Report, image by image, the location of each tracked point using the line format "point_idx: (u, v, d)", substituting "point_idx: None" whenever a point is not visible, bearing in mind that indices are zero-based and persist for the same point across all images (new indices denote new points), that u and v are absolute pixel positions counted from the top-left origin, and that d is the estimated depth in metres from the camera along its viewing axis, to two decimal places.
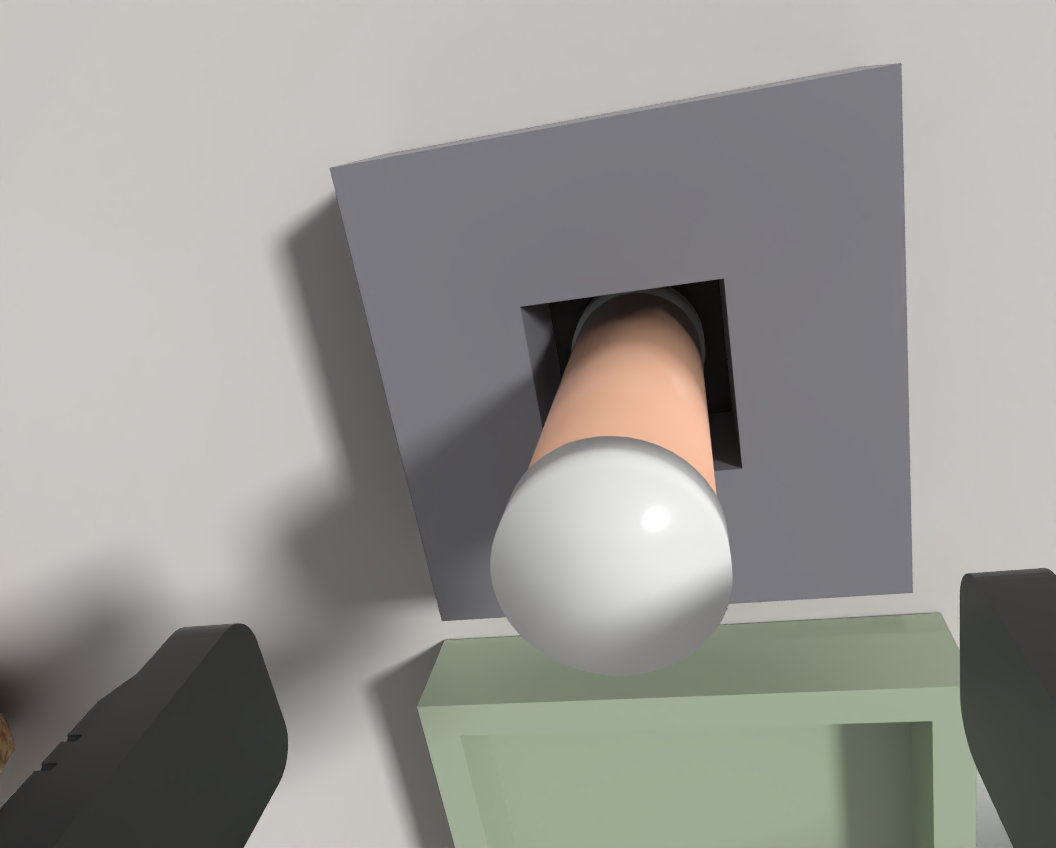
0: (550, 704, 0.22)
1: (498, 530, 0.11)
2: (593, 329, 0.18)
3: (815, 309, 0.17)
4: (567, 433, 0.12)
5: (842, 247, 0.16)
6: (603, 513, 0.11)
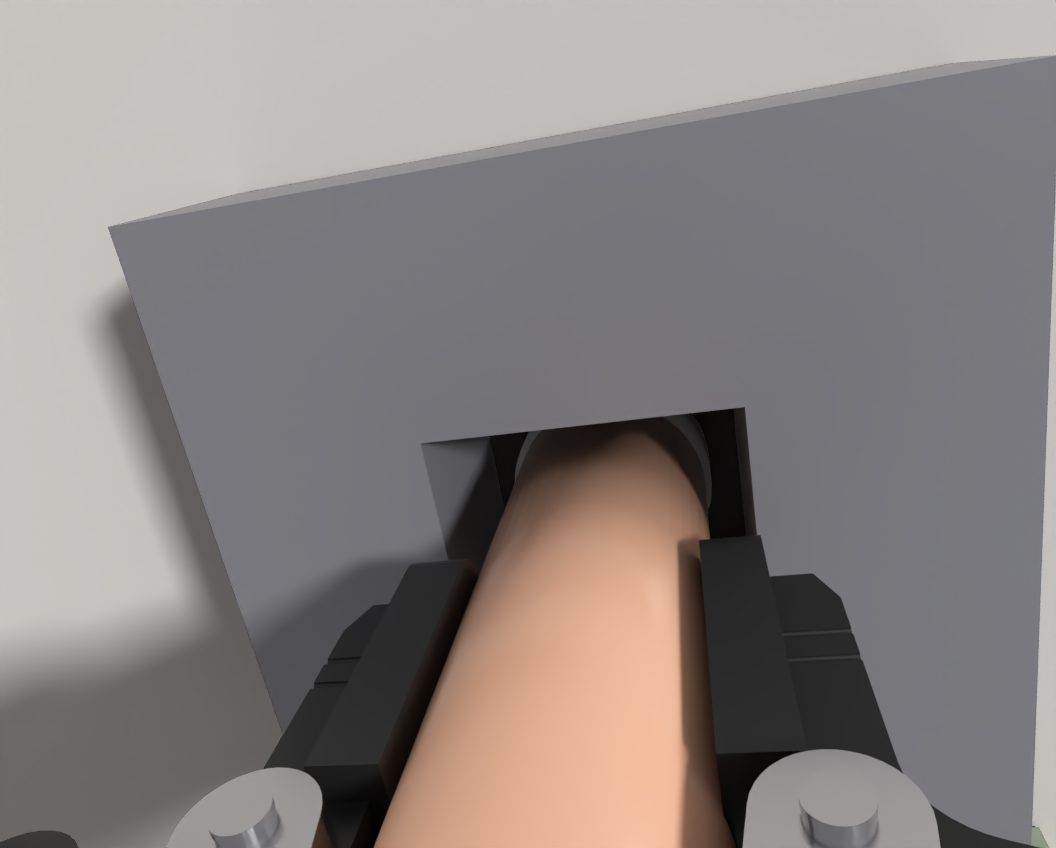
0: None
1: None
2: (536, 477, 0.11)
3: (893, 457, 0.10)
4: (429, 840, 0.06)
5: (942, 362, 0.10)
6: None
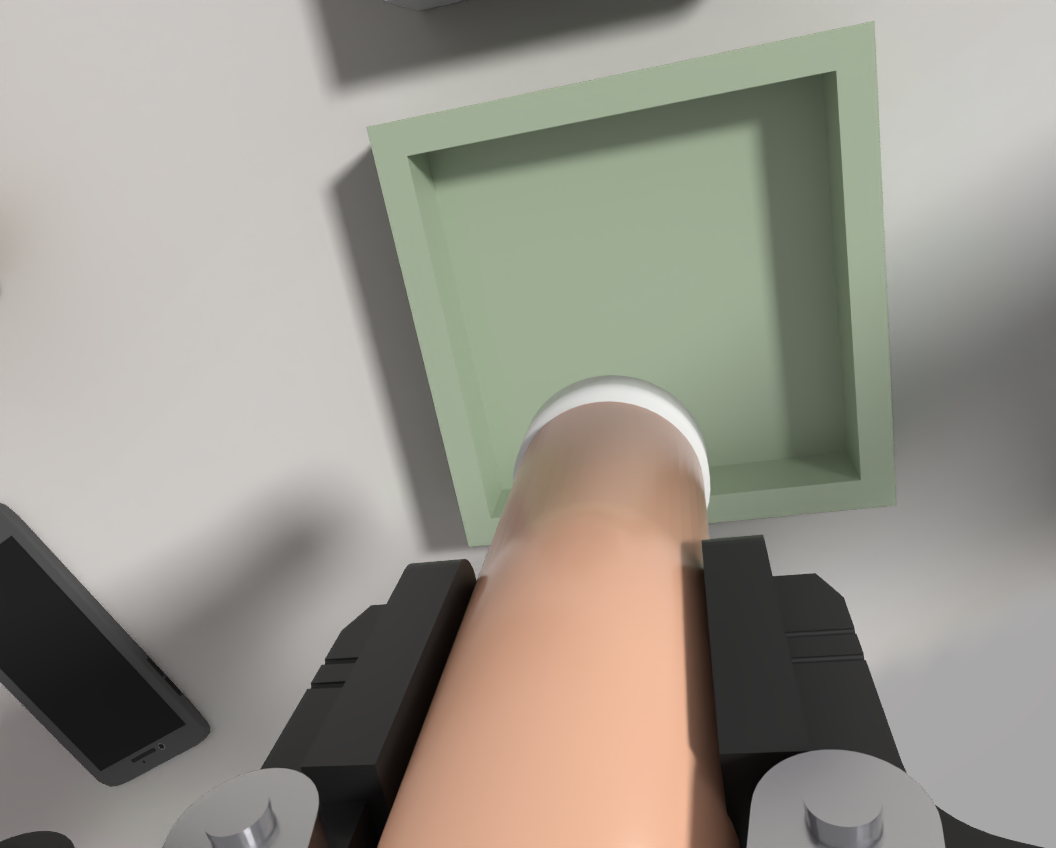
0: (489, 104, 0.24)
1: None
2: (536, 476, 0.11)
3: None
4: (434, 841, 0.06)
5: None
6: None
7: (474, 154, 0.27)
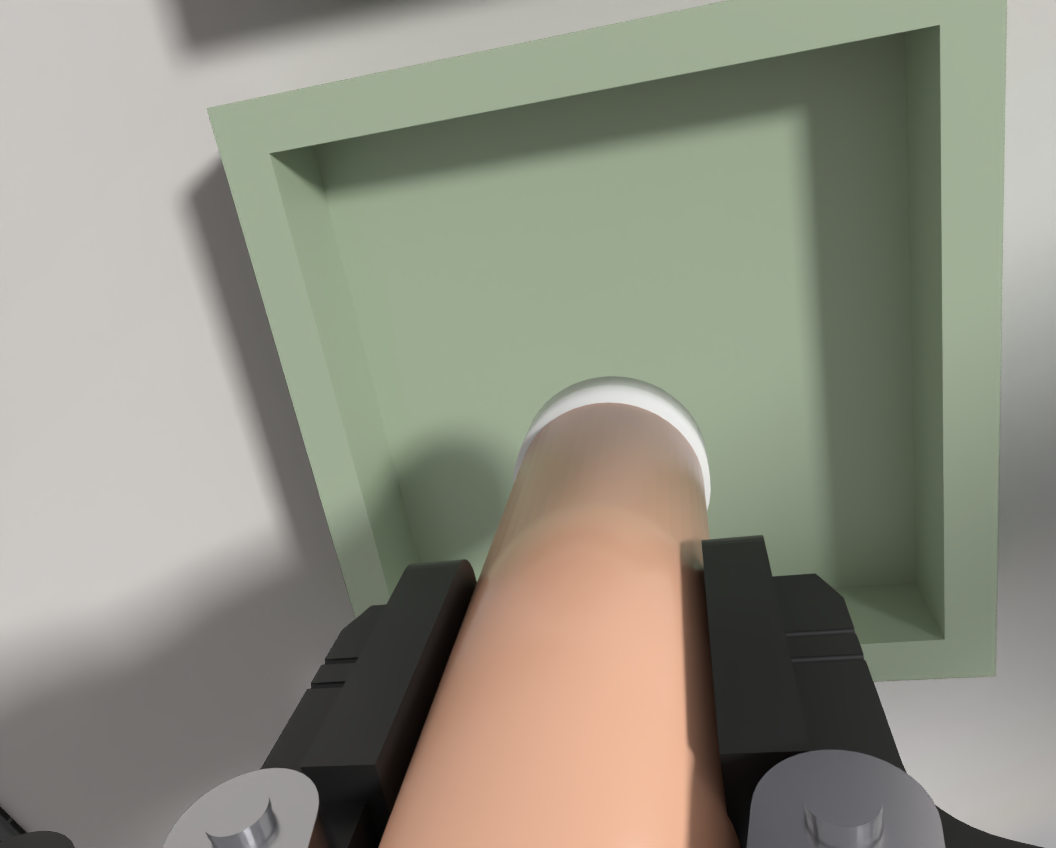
0: (390, 76, 0.15)
1: None
2: (536, 478, 0.11)
3: None
4: (434, 842, 0.06)
5: None
6: None
7: (382, 152, 0.18)
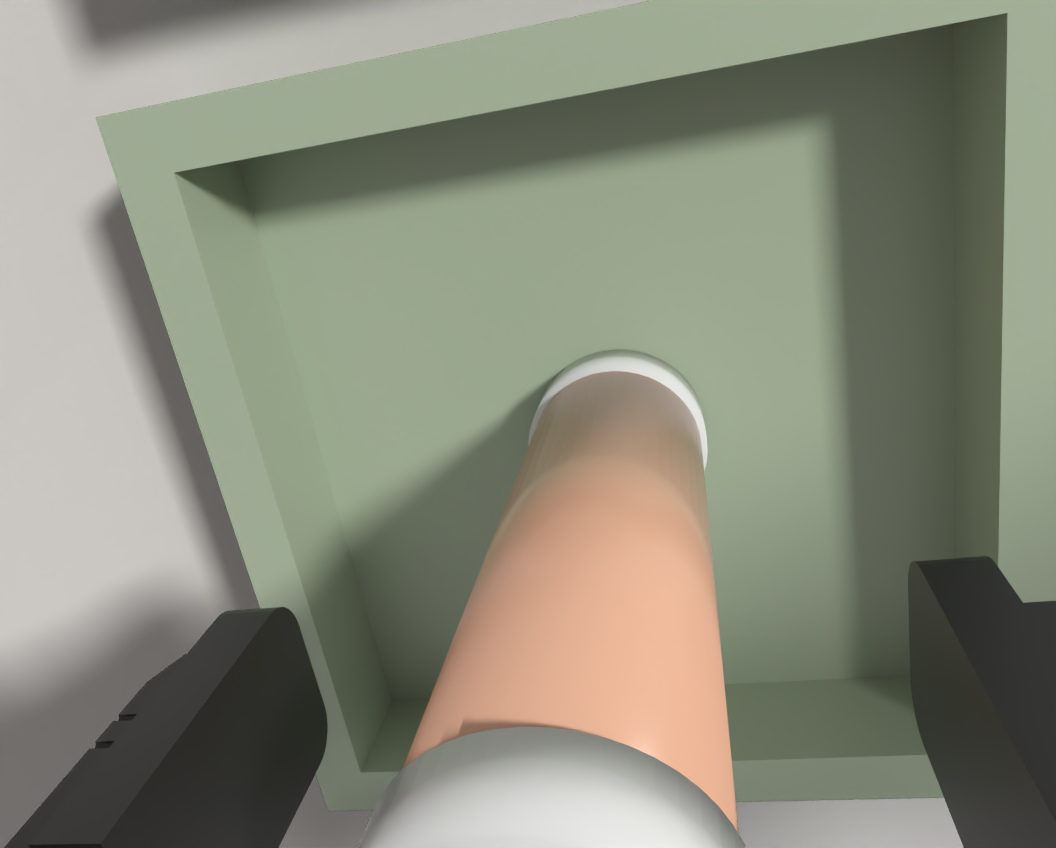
0: (318, 77, 0.12)
1: None
2: (551, 433, 0.13)
3: None
4: (477, 688, 0.07)
5: None
6: None
7: (321, 169, 0.15)
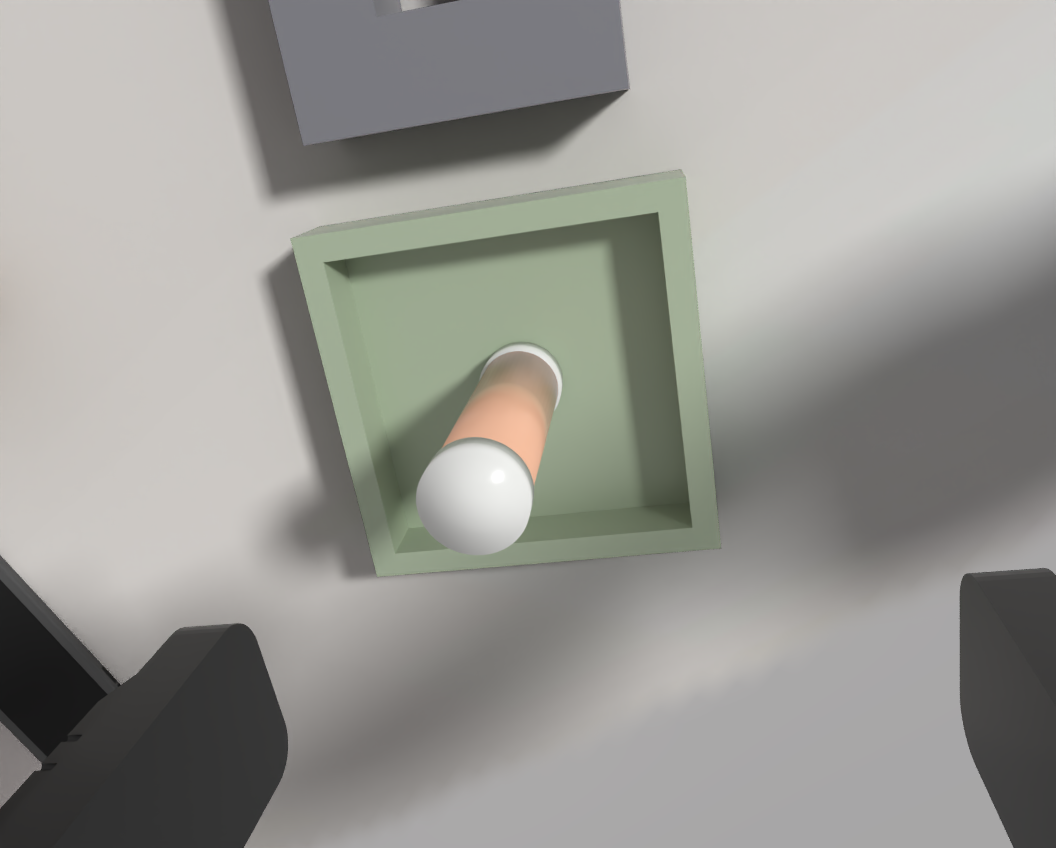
0: (389, 226, 0.30)
1: (419, 482, 0.23)
2: (486, 375, 0.30)
3: None
4: (456, 436, 0.25)
5: None
6: (468, 473, 0.23)
7: (382, 256, 0.32)
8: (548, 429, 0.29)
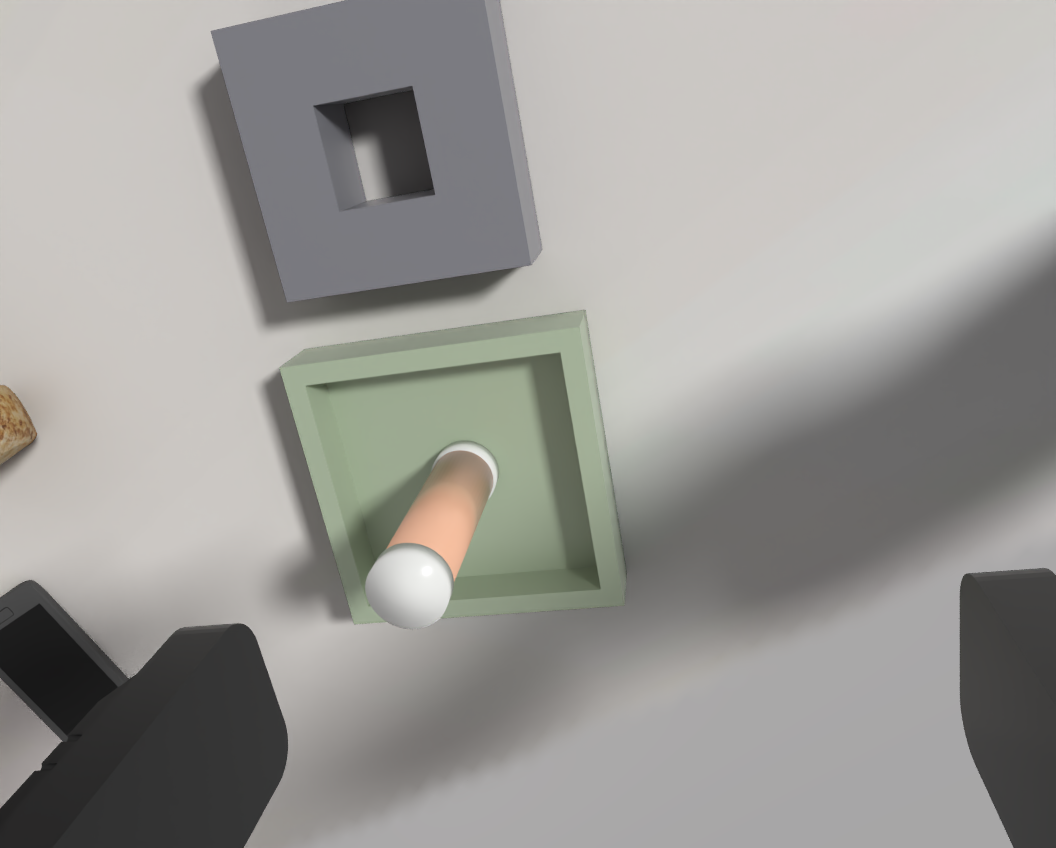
0: (354, 359, 0.38)
1: (367, 577, 0.32)
2: (432, 475, 0.39)
3: (458, 101, 0.33)
4: (397, 539, 0.33)
5: (466, 66, 0.32)
6: (402, 571, 0.31)
7: None
8: (477, 520, 0.37)
